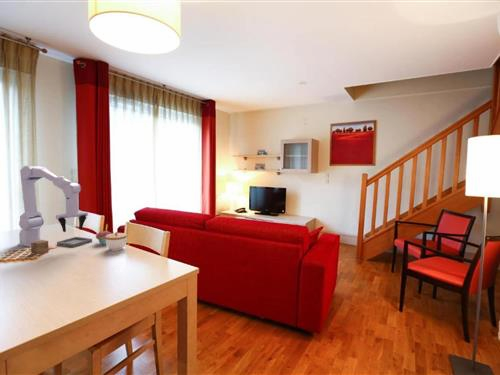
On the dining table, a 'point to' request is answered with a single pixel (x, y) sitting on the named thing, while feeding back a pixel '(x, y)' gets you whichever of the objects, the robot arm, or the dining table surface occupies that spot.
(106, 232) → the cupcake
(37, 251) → the walnut block
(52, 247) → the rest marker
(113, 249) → the lidded jar
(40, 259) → the dining table surface
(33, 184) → the robot arm
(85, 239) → the slate tray
